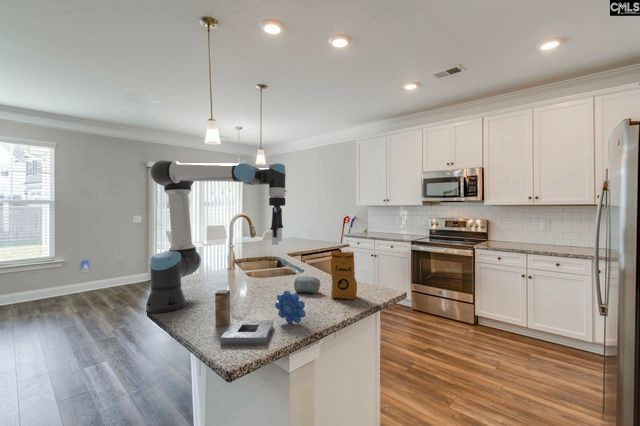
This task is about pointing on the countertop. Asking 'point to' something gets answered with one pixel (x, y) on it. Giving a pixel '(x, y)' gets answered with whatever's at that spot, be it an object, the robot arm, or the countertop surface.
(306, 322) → the countertop surface
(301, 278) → the spool
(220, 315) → the wooden block
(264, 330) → the gray square hole plate
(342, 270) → the coffee package
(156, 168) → the robot arm
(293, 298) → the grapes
